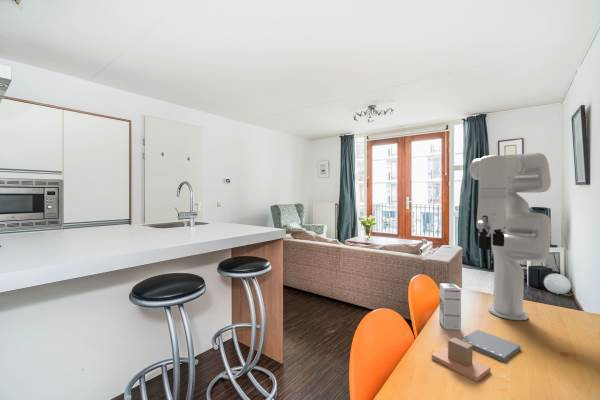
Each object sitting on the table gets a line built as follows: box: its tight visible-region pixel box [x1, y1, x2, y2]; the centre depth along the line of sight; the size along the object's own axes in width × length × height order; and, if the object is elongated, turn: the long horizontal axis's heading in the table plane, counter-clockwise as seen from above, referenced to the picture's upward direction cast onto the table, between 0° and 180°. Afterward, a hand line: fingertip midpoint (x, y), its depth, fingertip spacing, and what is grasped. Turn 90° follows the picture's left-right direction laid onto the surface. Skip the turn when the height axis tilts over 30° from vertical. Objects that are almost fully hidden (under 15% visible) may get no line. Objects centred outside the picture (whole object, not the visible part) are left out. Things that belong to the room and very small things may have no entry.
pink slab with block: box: [431, 336, 491, 382], centre depth 78 cm, size 7×12×6 cm, turn 34°
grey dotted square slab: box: [459, 329, 521, 363], centre depth 88 cm, size 12×12×1 cm
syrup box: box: [439, 282, 462, 331], centre depth 101 cm, size 6×6×14 cm
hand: (491, 247), depth 92 cm, fingers open, 9 cm apart
